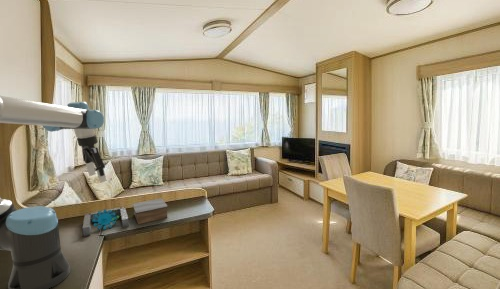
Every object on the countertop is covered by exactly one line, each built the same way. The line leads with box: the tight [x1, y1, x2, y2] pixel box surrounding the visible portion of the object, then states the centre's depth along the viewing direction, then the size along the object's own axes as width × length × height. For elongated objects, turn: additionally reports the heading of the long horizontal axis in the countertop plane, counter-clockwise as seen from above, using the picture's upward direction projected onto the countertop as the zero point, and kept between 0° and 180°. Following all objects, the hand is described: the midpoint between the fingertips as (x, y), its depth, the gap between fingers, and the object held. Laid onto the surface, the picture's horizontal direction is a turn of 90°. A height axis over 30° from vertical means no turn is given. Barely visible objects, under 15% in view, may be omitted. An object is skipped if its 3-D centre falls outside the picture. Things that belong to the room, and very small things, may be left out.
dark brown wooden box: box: [132, 197, 169, 225], centre depth 127 cm, size 15×15×6 cm
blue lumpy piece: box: [91, 209, 120, 230], centre depth 117 cm, size 11×6×10 cm
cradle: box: [82, 206, 130, 238], centre depth 119 cm, size 18×18×4 cm
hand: (97, 178), depth 117 cm, fingers open, 13 cm apart
